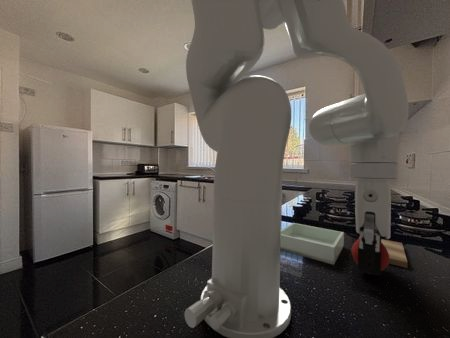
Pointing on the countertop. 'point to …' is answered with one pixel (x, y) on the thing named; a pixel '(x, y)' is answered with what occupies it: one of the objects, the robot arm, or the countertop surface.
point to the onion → (382, 248)
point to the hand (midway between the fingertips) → (370, 262)
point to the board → (395, 253)
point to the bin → (312, 242)
